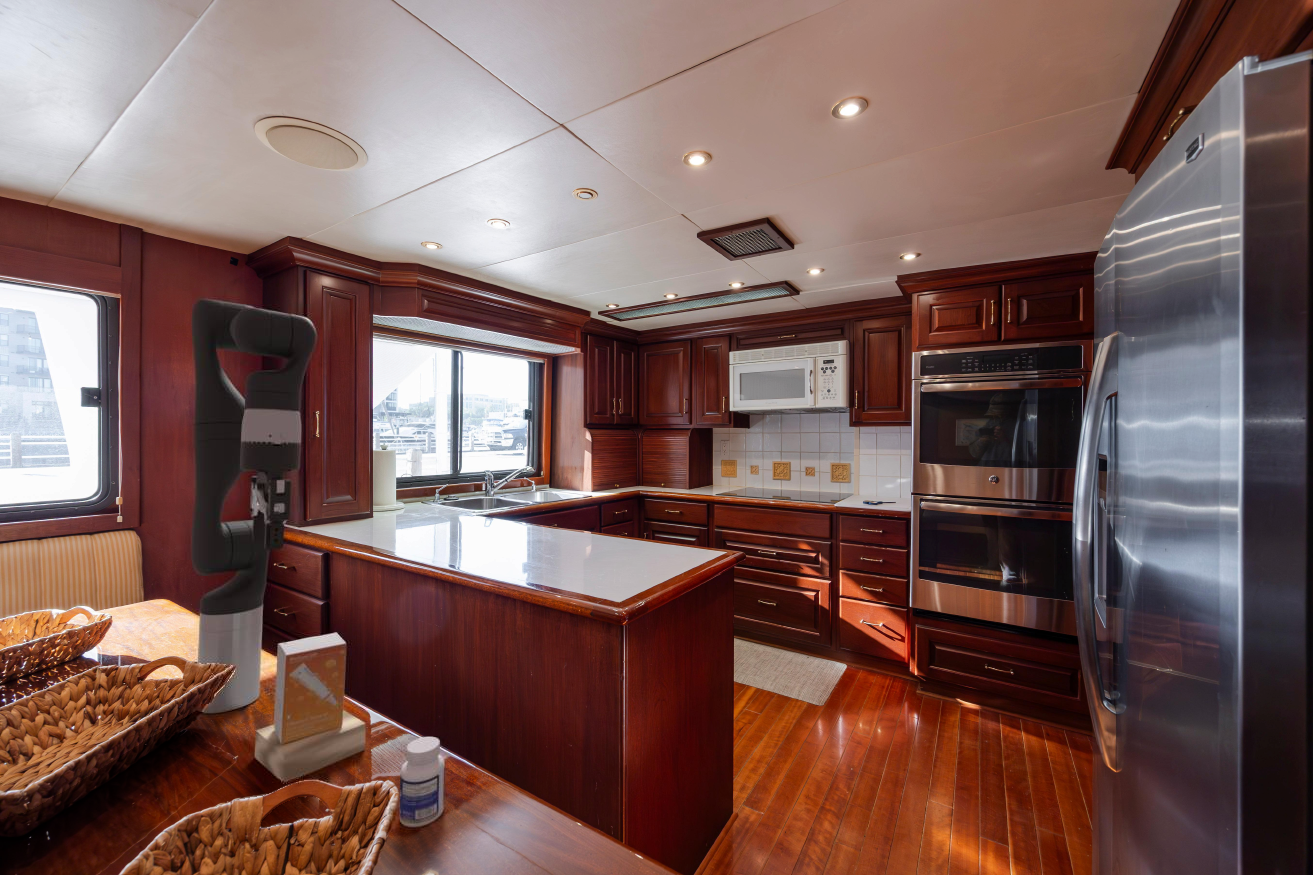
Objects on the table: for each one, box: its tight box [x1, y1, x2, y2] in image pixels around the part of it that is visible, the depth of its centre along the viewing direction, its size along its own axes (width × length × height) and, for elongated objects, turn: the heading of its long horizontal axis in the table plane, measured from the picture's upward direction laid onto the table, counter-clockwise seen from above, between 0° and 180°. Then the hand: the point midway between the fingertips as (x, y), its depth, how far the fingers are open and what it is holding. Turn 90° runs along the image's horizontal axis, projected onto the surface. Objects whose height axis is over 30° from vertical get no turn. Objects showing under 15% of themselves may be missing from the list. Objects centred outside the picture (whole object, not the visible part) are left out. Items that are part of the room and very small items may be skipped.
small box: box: [273, 632, 347, 744], centre depth 82 cm, size 8×6×13 cm
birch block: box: [254, 709, 367, 782], centre depth 82 cm, size 11×11×4 cm
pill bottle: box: [398, 736, 446, 828], centre depth 69 cm, size 5×5×9 cm
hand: (267, 545), depth 82 cm, fingers open, 8 cm apart
